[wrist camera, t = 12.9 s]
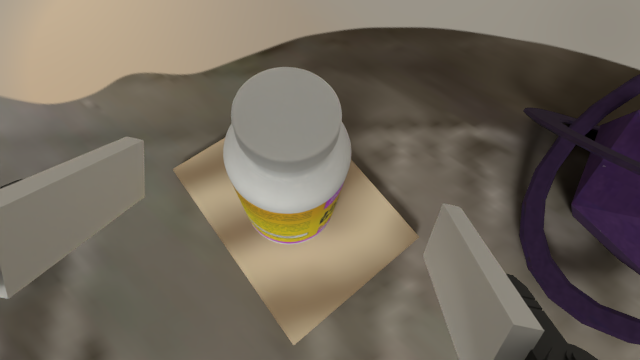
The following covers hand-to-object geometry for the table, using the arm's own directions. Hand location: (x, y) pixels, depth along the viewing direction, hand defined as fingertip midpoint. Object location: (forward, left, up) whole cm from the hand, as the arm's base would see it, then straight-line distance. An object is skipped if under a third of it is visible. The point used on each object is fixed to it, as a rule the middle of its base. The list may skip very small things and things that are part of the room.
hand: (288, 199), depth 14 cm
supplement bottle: (-3, +2, -11) cm, 11 cm away
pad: (-2, +2, -12) cm, 12 cm away
